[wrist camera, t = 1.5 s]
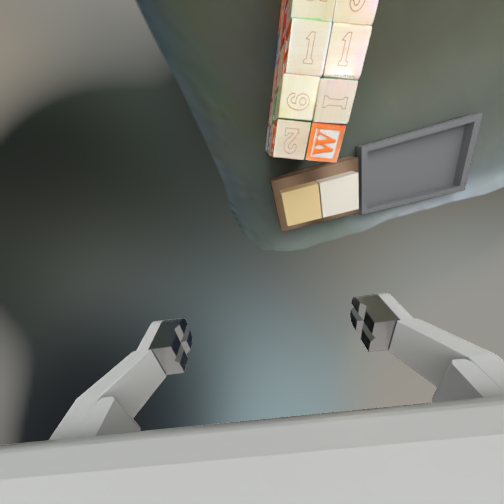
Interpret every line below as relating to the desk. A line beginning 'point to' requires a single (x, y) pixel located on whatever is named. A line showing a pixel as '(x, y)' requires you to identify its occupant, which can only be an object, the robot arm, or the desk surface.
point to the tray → (416, 164)
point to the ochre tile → (301, 203)
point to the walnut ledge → (309, 176)
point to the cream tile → (339, 193)
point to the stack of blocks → (317, 75)
